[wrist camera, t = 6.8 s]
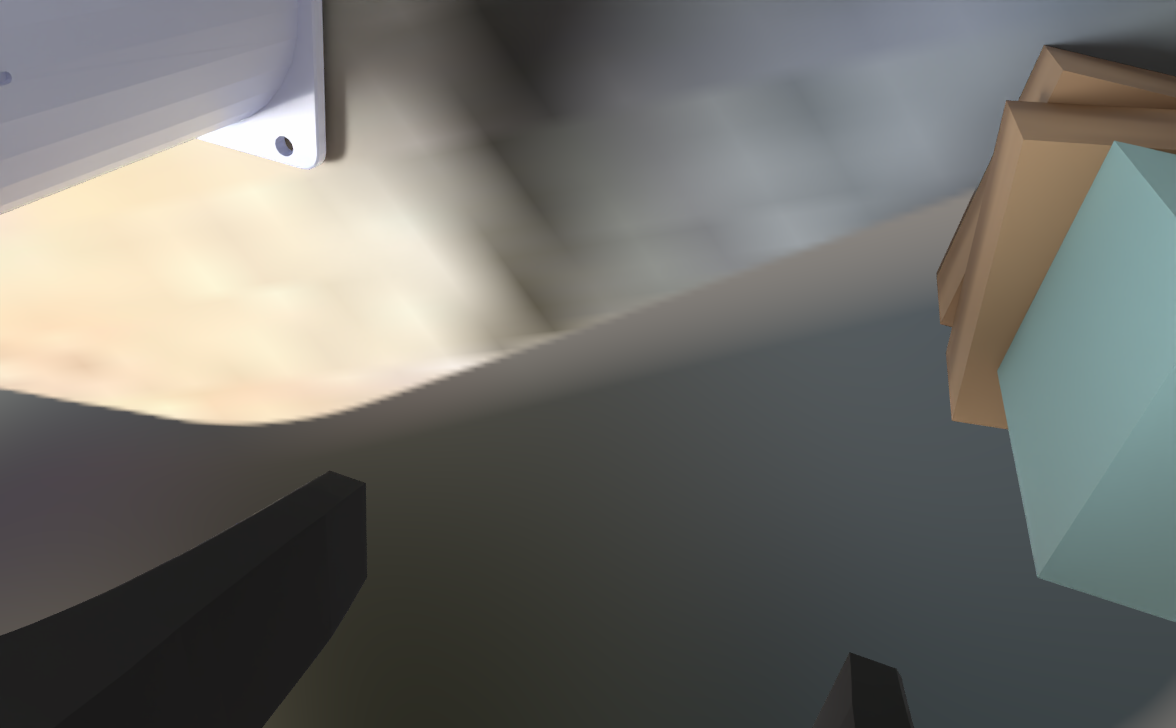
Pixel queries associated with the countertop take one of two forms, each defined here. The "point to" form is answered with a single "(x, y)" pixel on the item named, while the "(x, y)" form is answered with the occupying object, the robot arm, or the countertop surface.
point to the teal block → (1103, 392)
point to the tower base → (1055, 82)
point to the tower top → (1030, 230)
